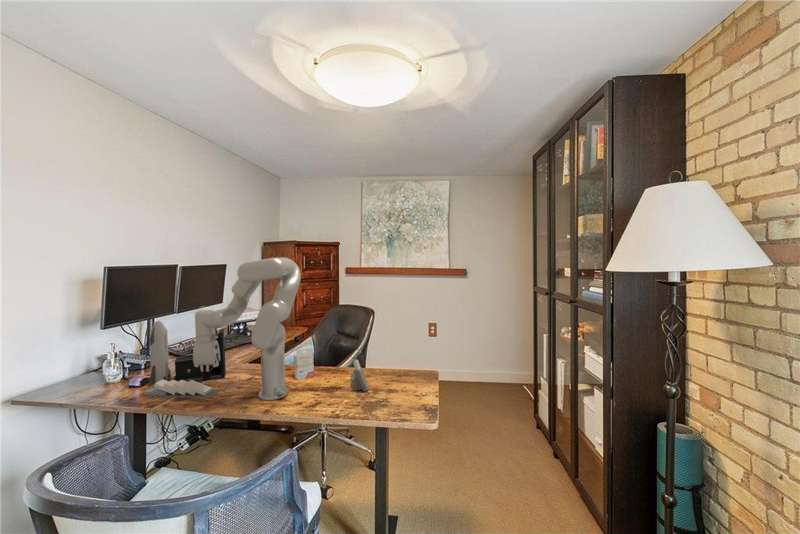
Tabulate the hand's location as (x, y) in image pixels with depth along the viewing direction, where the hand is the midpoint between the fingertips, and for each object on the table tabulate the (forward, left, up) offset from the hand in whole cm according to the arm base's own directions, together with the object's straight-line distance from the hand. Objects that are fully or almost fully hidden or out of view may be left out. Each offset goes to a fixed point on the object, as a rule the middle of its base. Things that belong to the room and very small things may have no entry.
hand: (206, 379), depth 156 cm
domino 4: (+4, +2, -5) cm, 7 cm away
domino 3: (+8, +4, -5) cm, 10 cm away
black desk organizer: (+23, -9, -7) cm, 26 cm away
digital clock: (-53, -41, -7) cm, 68 cm away
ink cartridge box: (-20, -37, -7) cm, 43 cm away
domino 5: (0, 0, -5) cm, 5 cm away
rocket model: (+37, +3, -7) cm, 37 cm away
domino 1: (+15, +8, -5) cm, 18 cm away
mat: (+7, +4, -6) cm, 10 cm away
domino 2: (+12, +6, -5) cm, 14 cm away
